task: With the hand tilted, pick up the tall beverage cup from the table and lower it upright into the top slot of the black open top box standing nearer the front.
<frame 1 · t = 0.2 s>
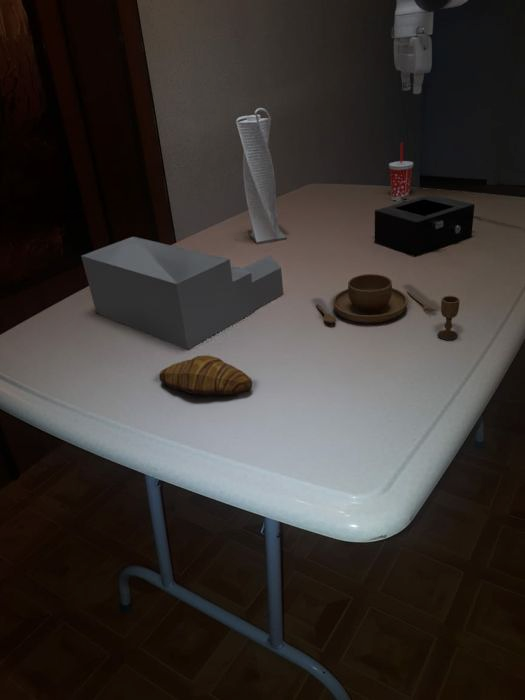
hand: (411, 91, 139), 25 cm above the table, tool pointing down, fingers open, 8 cm apart
croissant: (206, 389, 75), on the table
place setting: (380, 320, 88), on the table
skyscraper: (266, 239, 128), on the table
black open top box: (422, 240, 118), on the table
grey stepped block: (190, 304, 100), on the table
beverage cup: (400, 199, 146), on the table
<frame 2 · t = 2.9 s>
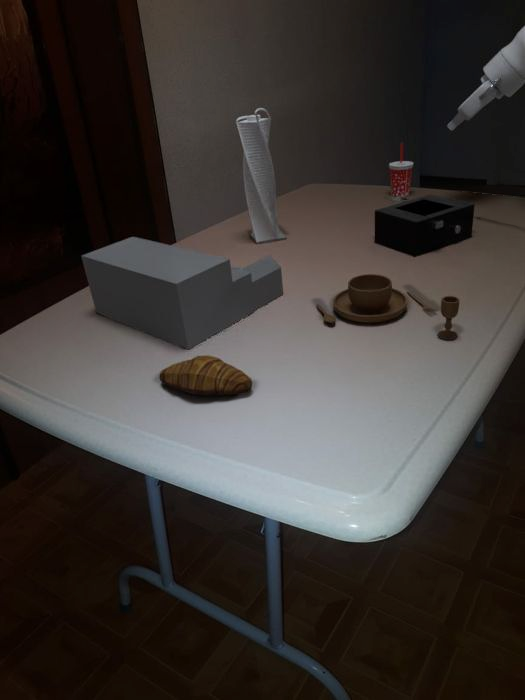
hand: (453, 124, 132), 18 cm above the table, tool tilted 45°, fingers open, 8 cm apart
nothing on the table moved.
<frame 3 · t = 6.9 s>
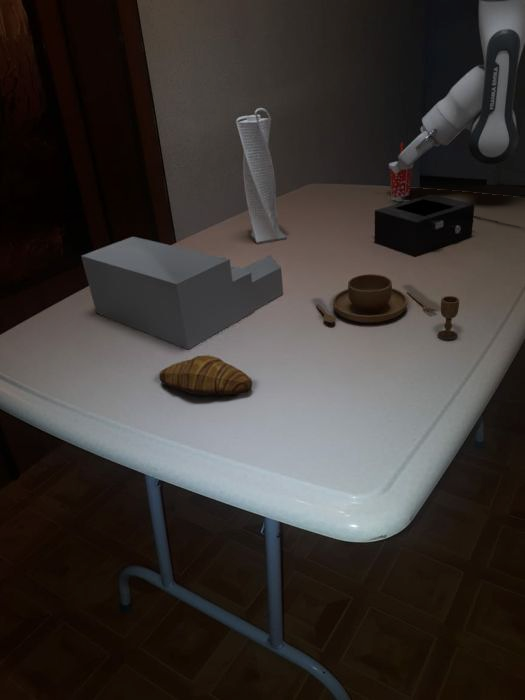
hand: (398, 167, 143), 8 cm above the table, tool tilted 45°, fingers closed on beverage cup, 6 cm apart
beverage cup: (400, 199, 146), on the table, touching gripper
everything else where it was.
when the fingers open (9 cm above the table, at t = 18.8 s): beverage cup stays where it is, resting on black open top box.
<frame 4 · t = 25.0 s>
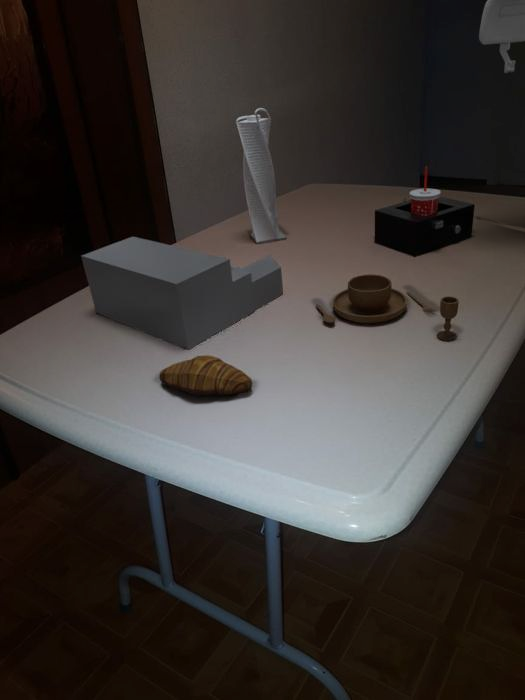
beverage cup: (422, 236, 117), point 1 cm above the table, touching black open top box
everything else where it was.
at the end: beverage cup 0.1 cm off-centre on the black open top box, point 0.9 cm above the black open top box's base; beverage cup tilted 0°; the gripper is holding nothing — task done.
